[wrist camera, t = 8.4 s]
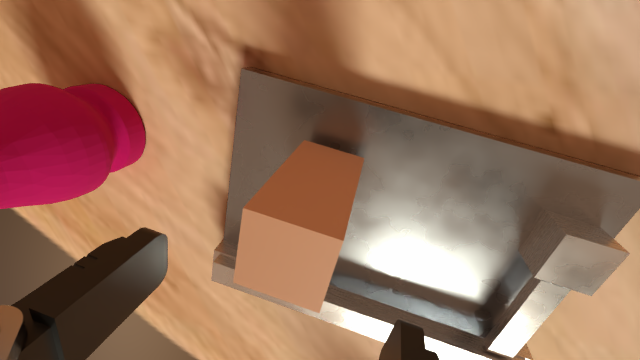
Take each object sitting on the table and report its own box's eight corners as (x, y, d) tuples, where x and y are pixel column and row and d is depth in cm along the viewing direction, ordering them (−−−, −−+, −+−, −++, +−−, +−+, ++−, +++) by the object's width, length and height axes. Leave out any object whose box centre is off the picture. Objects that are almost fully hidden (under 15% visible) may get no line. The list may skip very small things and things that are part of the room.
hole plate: (641, 176, 17) (700, 209, 13) (498, 354, 24) (514, 402, 21) (250, 67, 19) (220, 72, 16) (227, 259, 26) (204, 290, 23)
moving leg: (365, 153, 18) (343, 241, 10) (326, 274, 22) (290, 399, 14) (307, 136, 18) (242, 207, 10) (280, 259, 23) (221, 373, 15)
